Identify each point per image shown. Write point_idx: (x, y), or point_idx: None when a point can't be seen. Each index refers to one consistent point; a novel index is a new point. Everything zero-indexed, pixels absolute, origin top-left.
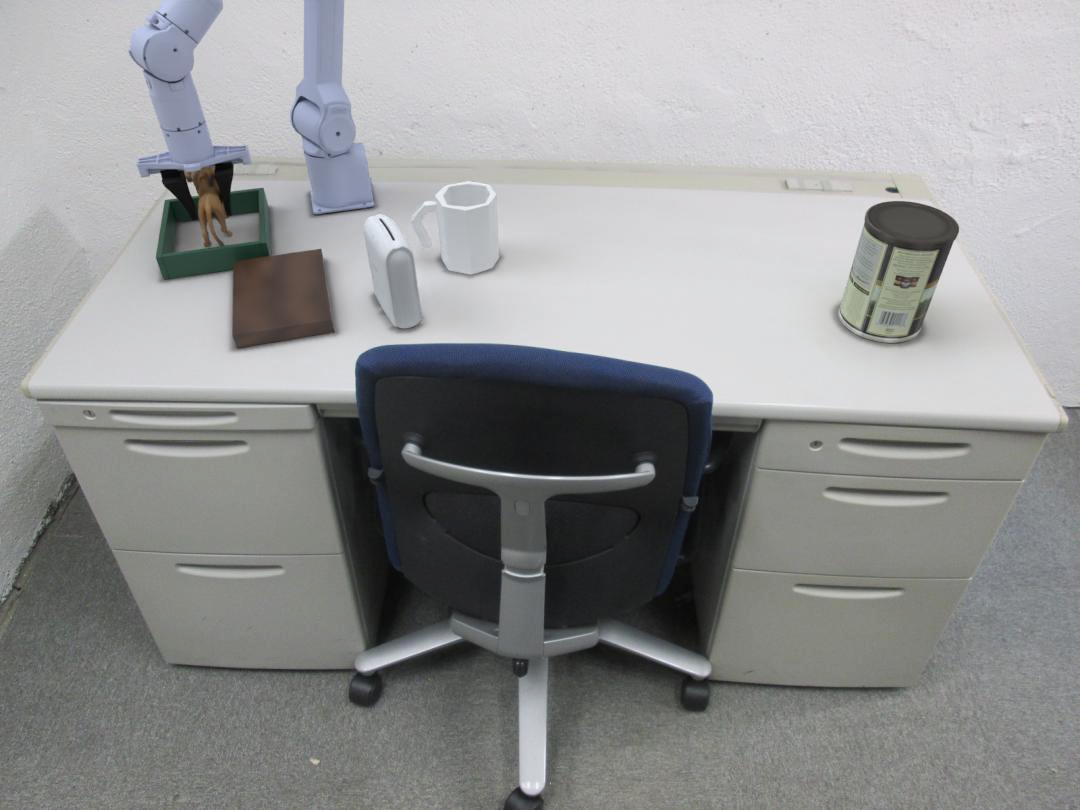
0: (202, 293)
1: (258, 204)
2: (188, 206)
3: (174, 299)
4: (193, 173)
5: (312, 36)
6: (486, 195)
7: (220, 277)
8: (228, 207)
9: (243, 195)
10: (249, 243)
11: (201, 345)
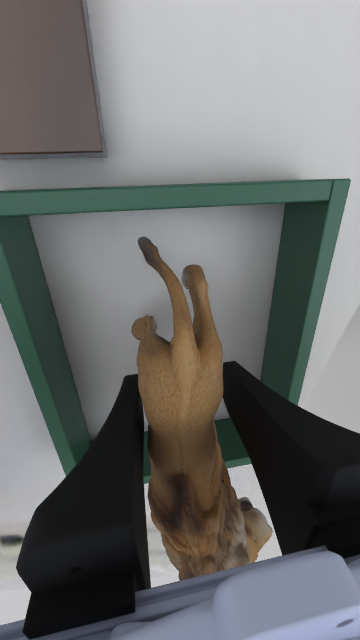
0: (205, 44)
1: None
2: (254, 387)
3: (288, 32)
4: (239, 530)
5: None
6: None
7: (155, 147)
8: (124, 391)
9: None
10: (31, 199)
11: None
